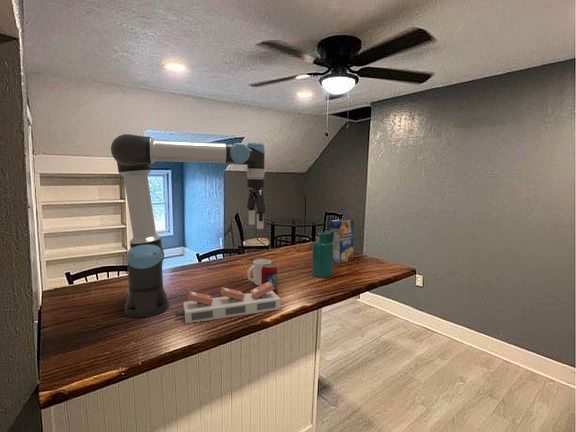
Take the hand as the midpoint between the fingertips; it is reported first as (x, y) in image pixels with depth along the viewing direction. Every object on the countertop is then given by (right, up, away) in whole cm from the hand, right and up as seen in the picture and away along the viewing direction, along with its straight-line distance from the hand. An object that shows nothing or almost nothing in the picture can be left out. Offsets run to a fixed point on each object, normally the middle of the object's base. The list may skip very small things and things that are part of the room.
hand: (255, 226), depth 145 cm
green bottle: (+32, -25, +18) cm, 45 cm away
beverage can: (+7, -28, -6) cm, 30 cm away
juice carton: (+46, -22, +46) cm, 68 cm away
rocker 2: (-6, -24, -26) cm, 36 cm away
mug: (+1, -27, +5) cm, 27 cm away
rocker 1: (-17, -24, -30) cm, 42 cm away
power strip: (-7, -30, -26) cm, 41 cm away
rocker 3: (+5, -23, -22) cm, 32 cm away
